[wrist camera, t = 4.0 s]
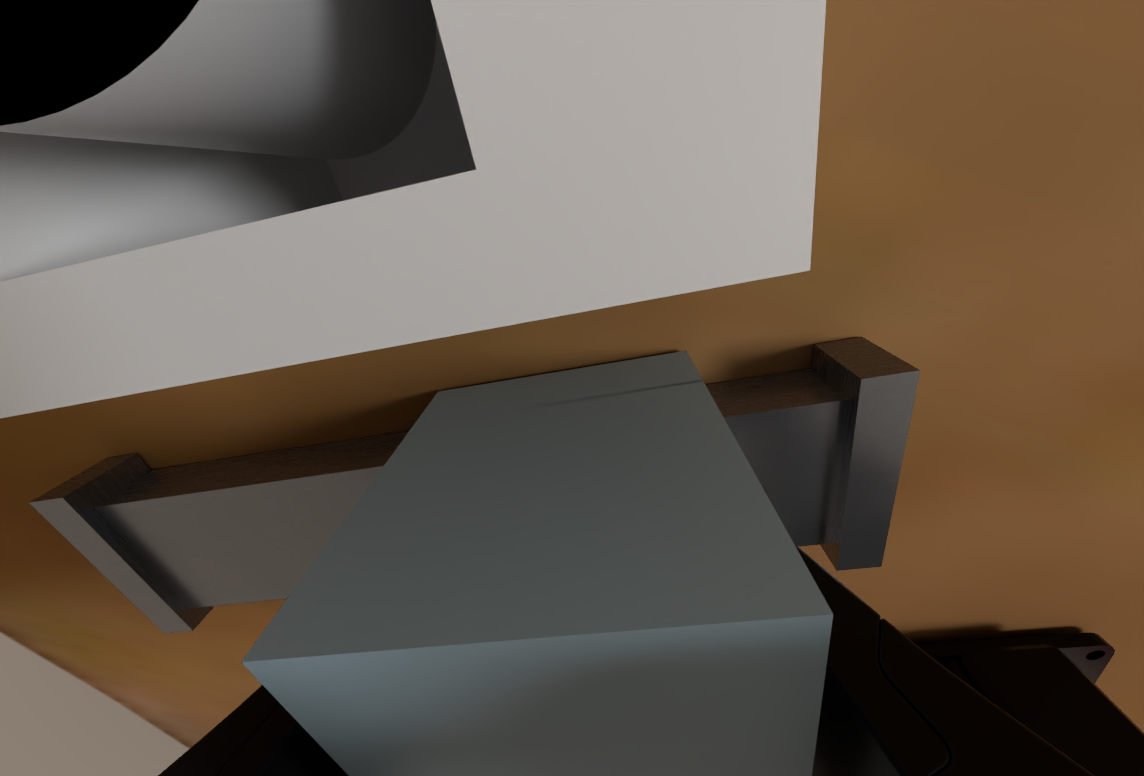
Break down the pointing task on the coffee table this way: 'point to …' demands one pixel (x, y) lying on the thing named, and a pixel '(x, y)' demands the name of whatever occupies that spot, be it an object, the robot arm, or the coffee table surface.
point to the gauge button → (217, 72)
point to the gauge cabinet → (425, 203)
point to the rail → (347, 468)
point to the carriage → (559, 594)
